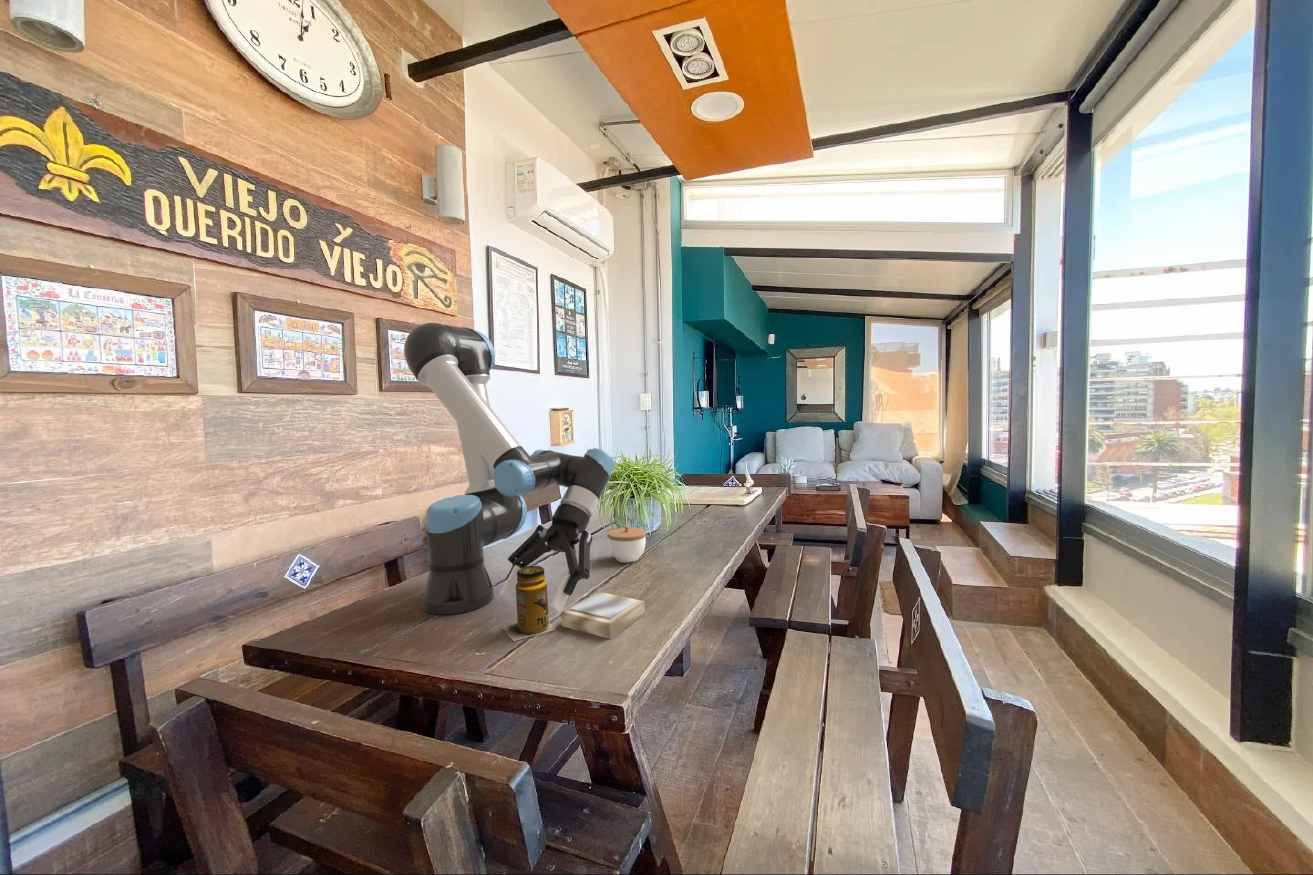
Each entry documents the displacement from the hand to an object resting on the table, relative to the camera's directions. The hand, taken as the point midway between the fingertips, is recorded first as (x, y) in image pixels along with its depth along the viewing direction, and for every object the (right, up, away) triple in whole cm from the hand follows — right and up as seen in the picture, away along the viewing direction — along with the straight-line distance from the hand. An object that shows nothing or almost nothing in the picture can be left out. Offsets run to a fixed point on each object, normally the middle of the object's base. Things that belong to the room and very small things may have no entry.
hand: (529, 603), depth 101 cm
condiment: (0, -6, +1) cm, 6 cm away
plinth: (+14, -5, +4) cm, 16 cm away
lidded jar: (+17, -2, +45) cm, 48 cm away
